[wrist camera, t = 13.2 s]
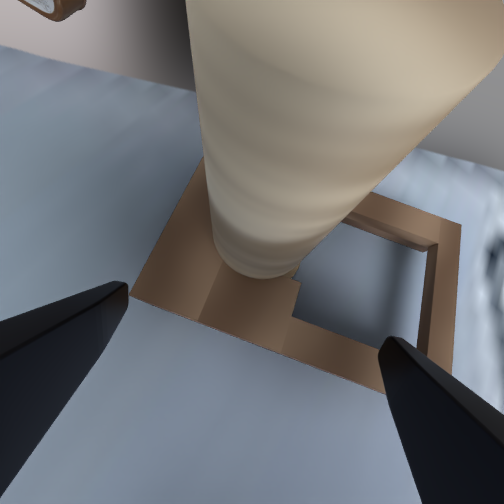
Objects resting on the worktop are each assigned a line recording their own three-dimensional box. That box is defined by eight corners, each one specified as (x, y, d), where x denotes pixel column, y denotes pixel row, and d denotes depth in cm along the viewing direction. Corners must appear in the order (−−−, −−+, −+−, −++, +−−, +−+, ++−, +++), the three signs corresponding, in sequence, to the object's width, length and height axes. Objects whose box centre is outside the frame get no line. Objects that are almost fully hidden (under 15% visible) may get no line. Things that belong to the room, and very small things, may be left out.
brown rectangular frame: (424, 242, 18) (461, 224, 15) (404, 402, 14) (448, 417, 12) (216, 165, 18) (215, 134, 15) (147, 303, 15) (128, 295, 12)
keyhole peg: (254, 315, 15) (403, 206, 2) (192, 252, 16) (71, -67, 3) (312, 255, 17) (578, 6, 4) (253, 200, 18) (325, -141, 5)
